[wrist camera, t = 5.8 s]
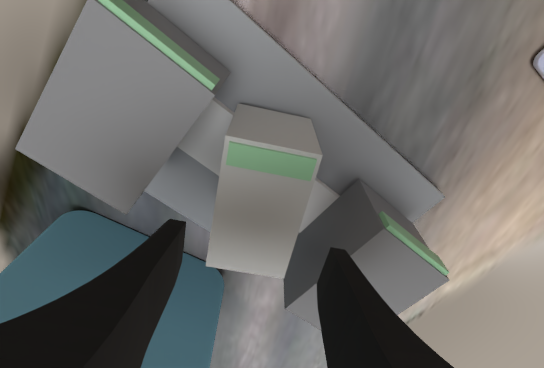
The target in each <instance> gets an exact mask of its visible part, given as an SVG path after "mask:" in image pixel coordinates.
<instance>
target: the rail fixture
mask: <svg viewBox="0 0 544 368" xmlns="http://www.w3.org/2000/svg"><path fill="white" fill-rule="evenodd" d="M238 103H239V104H244V105H249V106H253V107H258V108H263V109H267V110H272V111H277V112H281V113H286V114H290V115H295V116H300V117H304V118H309V119H311V121H312V124H313V127H314V130H315V133H316V136H317V139H318V143H319V146H320V149H321V152H322V155H323V156H322V159H321V162H320V165H319V169H318V172H317V175H316V178H315V181H314V185H313V188H312V191H311V194H310V197H309V200H308V204H307V207H306V210H305V213H304V216H303V219H302V223H301V226H300V229H299V232H298V235H297V239H296V242H295V245H294V248H293V251H292V254H291V258H290V261H289V264H288V267H287V270H286V274H285V277H284V302H285V310H287V311H289V312H291V313H292V314H294V315H296V316H297V317H299V318H301V319H302V320H304V321H306V322H307V323H309V324H311V325H312V326H314V327H316V328H317V329H319V330H321V325H320V319H319V313H318V305H317V282H318V279H319V276H320V274H321V271H322V269H323V266H324V263H325V261H326V258H327V255H328V253H329V250H330V247H333V248H339V249H344V250H346V251H347V252H348V254H349V255H350V257H351V258H352V259H353V261H354V262H355V263H356V265H357V266H358V267H359V269H360V270H361V272H362V273H363V274H364V276H365V277H366V278H367V280H368V281H369V282H370V284H371V285H372V286H373V287H374V289H375V290H376V291H377V292H378V294H379V295H380V296H381V297H382V299H383V300H384V301H385V302H386V303H387V304H388V306H389V307H390V308H391V309H392V310H393V311H394V312H395V314H396V315H398V314H400V313H401V312H403V311H404V310H406V309H407V308H409V307H410V306H412V305H413V304H415V303H416V302H418V301H419V300H421V299H422V298H424V297H425V296H427V295H428V294H430V293H431V292H433V291H434V290H436V289H437V288H439V287H440V286H441V285H443V284H444V283H446V282H447V281H449V279H448V277H447V276H446V275H447V274H448V273H449V271H448V270H447V268H446V267H445V265H444V264H443V262H442V261H441V259H440V258H439V257H438V256H437V255H436V254H435V253H433V252H432V251H431V250H430V249H429V248H428V246H427V245H426V243H425V242H424V240H423V239H422V237H421V236H420V234H419V232H418V231H417V229H416V228H415V226H414V225H413V222H414V221H415V220H417V219H418V218H419V217H420V216H422V215H423V214H424V213H425V212H427V211H428V210H429V209H431V208H432V207H433V206H434V205H436V204H437V203H438V202H439V201H441V200H442V199H443V198H445V196H444V195H443V194H442V193H441V192H440V191H439V190H438V189H437V188H436V187H435V186H434V185H433V184H432V183H431V182H430V181H429V180H428V179H426V178H425V177H424V176H423V175H422V174H421V173H420V172H419V171H418V170H417V169H416V168H414V167H413V166H412V165H411V164H410V163H409V162H408V161H407V160H406V159H405V158H403V157H402V156H401V155H400V154H399V153H398V152H397V151H396V150H395V149H394V148H393V147H391V146H390V145H389V144H388V143H387V142H386V141H385V140H384V139H383V138H382V137H380V136H379V135H378V134H377V133H376V132H375V131H374V130H373V129H372V128H371V127H370V126H368V125H367V124H366V123H365V122H364V121H363V120H362V119H361V118H360V117H359V116H358V115H356V114H355V113H354V112H353V111H352V110H351V109H350V108H349V107H348V106H347V105H345V104H344V103H343V102H342V101H341V100H340V99H339V98H338V97H337V96H336V95H335V94H333V93H332V92H331V91H330V90H329V89H328V88H327V87H326V86H325V85H324V84H322V83H321V82H320V81H319V80H318V79H317V78H316V77H315V76H314V75H313V74H312V73H310V72H309V71H308V70H307V69H306V68H305V67H304V66H303V65H302V64H301V63H299V62H298V61H297V60H296V59H295V58H294V57H293V56H292V55H291V54H290V53H289V52H287V51H286V50H285V49H284V48H283V47H282V46H281V45H280V44H279V43H278V42H277V41H275V40H274V39H273V38H272V37H271V36H270V35H269V34H268V33H267V32H266V31H264V30H263V29H262V28H261V27H260V26H259V25H258V24H257V23H256V22H255V21H254V20H252V19H251V18H250V17H249V16H248V15H247V14H246V13H245V12H244V11H243V10H241V9H240V8H239V7H238V6H237V5H236V4H235V3H234V2H233V1H232V0H148V2H146V1H144V0H87V2H86V4H85V6H84V8H83V10H82V12H81V14H80V16H79V18H78V20H77V22H76V24H75V26H74V29H73V31H72V33H71V35H70V37H69V39H68V41H67V43H66V45H65V47H64V49H63V51H62V53H61V55H60V57H59V60H58V62H57V64H56V66H55V68H54V70H53V72H52V74H51V76H50V78H49V80H48V82H47V84H46V86H45V88H44V91H43V93H42V95H41V97H40V99H39V101H38V103H37V105H36V107H35V109H34V111H33V113H32V115H31V117H30V119H29V121H28V124H27V126H26V128H25V130H24V132H23V134H22V136H21V138H20V140H19V142H18V144H17V146H16V148H15V149H16V150H18V151H19V152H21V153H23V154H25V155H26V156H28V157H30V158H31V159H33V160H35V161H36V162H38V163H40V164H41V165H43V166H45V167H46V168H48V169H50V170H51V171H53V172H55V173H57V174H58V175H60V176H62V177H63V178H65V179H67V180H68V181H70V182H72V183H73V184H75V185H77V186H78V187H80V188H82V189H83V190H85V191H87V192H88V193H90V194H92V195H94V196H95V197H97V198H99V199H100V200H102V201H104V202H105V203H107V204H109V205H110V206H112V207H114V208H115V209H117V210H119V211H120V212H122V213H124V214H126V215H127V213H128V212H129V211H130V209H131V208H132V207H133V205H134V204H135V202H136V201H137V200H138V198H139V197H140V196H141V194H142V193H143V192H144V191H145V192H146V193H148V194H149V195H151V196H153V197H154V198H156V199H157V200H159V201H160V202H162V203H164V204H165V205H167V206H168V207H170V208H172V209H173V210H175V211H176V212H178V213H180V214H181V215H183V216H184V217H186V218H187V219H189V220H191V221H192V222H194V223H195V224H197V225H199V226H200V227H202V228H203V229H205V230H207V231H208V232H210V233H211V227H212V220H213V214H214V207H215V201H216V194H217V188H218V181H219V175H220V168H221V162H222V155H223V149H224V142H225V136H226V133H227V130H228V128H229V125H230V123H231V120H232V118H233V115H234V113H235V110H236V107H237V105H238Z"/></svg>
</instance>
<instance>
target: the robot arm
mask: <svg viewBox="0 0 544 368" xmlns="http://www.w3.org/2000/svg"><path fill="white" fill-rule="evenodd" d="M533 65H534V67H535V69H536V70H537V71H538V72H539V74H540V75H541V76H542V78H543V79H544V49H543V50H542V51H540V52H539V53H538V54H537V55H536V57H535V59H534V62H533ZM185 228H186V222H184V221H178V220H173V219H169V220H168V221H166V222H165V223H164V224H163V225H162V226H161V227H160V228H159V229H158V230H157V231H156V232H155V233H154V234H153V235H151V236H150V237H149V238H148V239H147V240H146V241H145V242H143V243H142V244H141V245H140V246H138V247H137V248H136V249H135V250H134V251H132V252H131V253H130V254H128V255H127V256H126V257H124V258H123V259H122V260H120V261H119V262H118V263H116V264H115V265H114V266H112V267H111V268H109V269H108V270H106V271H105V272H103V273H102V274H100V275H99V276H97V277H95V278H94V279H92V280H91V281H89V282H87V283H86V284H84V285H82V286H80V287H78V288H77V289H75V290H73V291H71V292H69V293H68V294H66V295H64V296H62V297H60V298H58V299H56V300H54V301H52V302H50V303H48V304H46V305H43V306H41V307H39V308H37V309H34V310H32V311H30V312H28V313H25V314H23V315H21V316H18V317H16V318H13V319H11V320H8V321H6V322H3V323H0V368H141V365H142V362H143V359H144V356H145V353H146V350H147V348H148V345H149V343H150V340H151V338H152V336H153V333H154V331H155V329H156V327H157V324H158V322H159V320H160V318H161V315H162V313H163V311H164V309H165V307H166V304H167V302H168V300H169V297H170V295H171V293H172V291H173V288H174V286H175V283H176V280H177V277H178V274H179V270H180V267H181V264H182V258H183V248H184V238H185ZM317 305H318V313H319V319H320V325H321V331H322V337H323V343H324V349H325V355H326V360H327V367H328V368H454V367H453V366H451V365H450V364H449V363H448V362H446V361H445V360H444V359H443V358H442V357H440V356H439V355H438V354H437V353H436V352H435V351H433V350H432V349H431V348H430V347H429V346H428V345H427V344H426V343H425V342H423V341H422V340H421V339H420V338H419V337H418V336H417V335H416V334H415V333H414V332H413V331H412V330H411V329H410V328H409V327H408V326H407V325H406V324H405V323H404V322H403V321H402V320H401V319H400V318H399V317H398V316H397V315H396V314H395V312H394V311H393V310H392V309H391V308H390V307H389V306H388V304H387V303H386V302H385V301H384V300H383V299H382V297H381V296H380V295H379V294H378V292H377V291H376V290H375V289H374V287H373V286H372V285H371V284H370V282H369V281H368V280H367V278H366V277H365V276H364V274H363V273H362V272H361V270H360V269H359V267H358V266H357V265H356V263H355V262H354V261H353V259H352V258H351V257H350V255H349V254H348V252H347V251H346V250H344V249H339V248H333V247H330V250H329V253H328V255H327V258H326V261H325V263H324V266H323V269H322V271H321V274H320V276H319V279H318V282H317Z"/></svg>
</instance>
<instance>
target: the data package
mask: <svg viewBox="0 0 544 368" xmlns="http://www.w3.org/2000/svg"><path fill="white" fill-rule="evenodd" d="M148 238H149V237H148V236H145V235H143V234H141V233H139V232H136V231H134V230H132V229H130V228H127V227H125V226H123V225H121V224H118V223H116V222H114V221H112V220H109V219H107V218H105V217H102V216H100V215H98V214H96V213H93V212H89V211H82V210H77V211H70V212H67V213H65V214H63V215H61V216H60V217H59V218H57V219H56V220H55V221H54V222H53V223H52V224H51V225H50V226H49V227H48V228H47V229H46V230H45V231H44V232H43V233H42V234H41V235H40V236H39V237H38V238H37V239H36V240H34V241H33V242H32V243H31V244H30V245H29V246H28V247H27V248H26V249H25V250H24V251H23V252H22V253H21V254H20V255H19V256H18V257H17V258H16V259H15V260H14V261H13V262H12V263H10V264H9V265H8V266H7V267H6V268H5V269H4V270H3V271H2V272H1V273H0V323H3V322H6V321H8V320H11V319H13V318H16V317H18V316H21V315H23V314H25V313H28V312H30V311H32V310H34V309H37V308H39V307H41V306H43V305H46V304H48V303H50V302H52V301H54V300H56V299H58V298H60V297H62V296H64V295H66V294H68V293H69V292H71V291H73V290H75V289H77V288H78V287H80V286H82V285H84V284H86V283H87V282H89V281H91V280H92V279H94V278H95V277H97V276H99V275H100V274H102V273H103V272H105V271H106V270H108V269H109V268H111V267H112V266H114V265H115V264H116V263H118V262H119V261H120V260H122V259H123V258H124V257H126V256H127V255H128V254H130V253H131V252H132V251H134V250H135V249H136V248H137V247H138V246H140V245H141V244H142V243H143V242H145V241H146V240H147V239H148ZM223 291H224V280H223V278H222V276H221V274H220V272H219V271H218V270H217V269H216V268H214V267H207V266H206V262H204V261H202V260H200V259H197V258H195V257H193V256H191V255H188V254H186V253H184V252H183V258H182V264H181V267H180V270H179V274H178V277H177V280H176V283H175V286H174V288H173V291H172V293H171V295H170V297H169V300H168V302H167V304H166V307H165V309H164V311H163V313H162V315H161V318H160V320H159V322H158V324H157V327H156V329H155V331H154V333H153V336H152V338H151V340H150V343H149V345H148V348H147V350H146V353H145V356H144V359H143V362H142V365H141V368H210V362H211V357H212V351H213V346H214V340H215V335H216V329H217V324H218V318H219V313H220V307H221V302H222V296H223Z"/></svg>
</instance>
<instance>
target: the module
mask: <svg viewBox="0 0 544 368" xmlns="http://www.w3.org/2000/svg"><path fill="white" fill-rule="evenodd" d="M322 156H323V155H322V152H321V149H320V146H319V143H318V139H317V136H316V133H315V130H314V127H313V124H312V121H311V119H309V118H304V117H300V116H295V115H290V114H286V113H281V112H277V111H272V110H267V109H263V108H258V107H253V106H249V105H244V104H239V103H238V105H237V107H236V110H235V113H234V115H233V118H232V120H231V123H230V125H229V128H228V130H227V133H226V136H225V142H224V149H223V155H222V162H221V168H220V175H219V181H218V188H217V194H216V201H215V207H214V214H213V220H212V227H211V233H210V240H209V246H208V253H207V259H206V266H207V267H214V268H220V269H226V270H232V271H238V272H244V273H250V274H256V275H262V276H268V277H274V278H280V279H284V277H285V274H286V270H287V267H288V264H289V261H290V258H291V254H292V251H293V248H294V245H295V242H296V239H297V235H298V232H299V229H300V226H301V223H302V219H303V216H304V213H305V210H306V207H307V204H308V200H309V197H310V194H311V191H312V188H313V185H314V181H315V178H316V175H317V172H318V169H319V165H320V162H321V159H322Z"/></svg>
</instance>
